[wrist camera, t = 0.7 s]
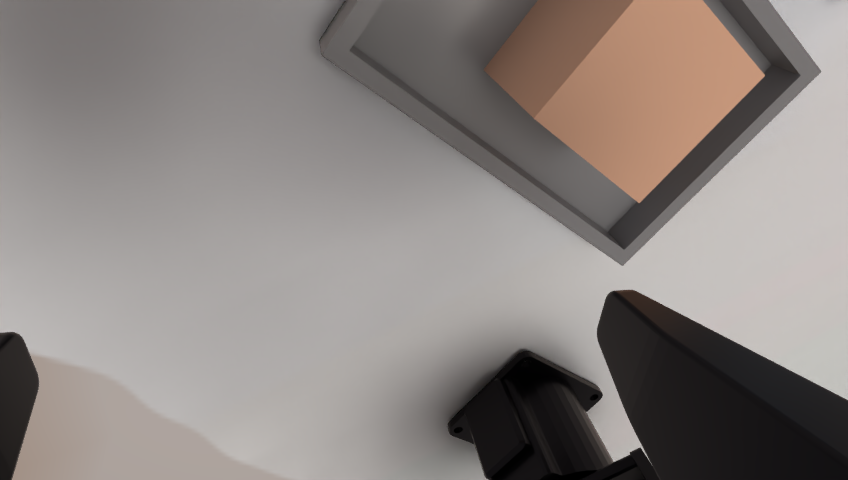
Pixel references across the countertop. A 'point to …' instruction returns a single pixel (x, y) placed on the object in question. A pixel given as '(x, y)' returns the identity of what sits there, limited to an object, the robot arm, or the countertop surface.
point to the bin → (524, 136)
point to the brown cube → (625, 80)
